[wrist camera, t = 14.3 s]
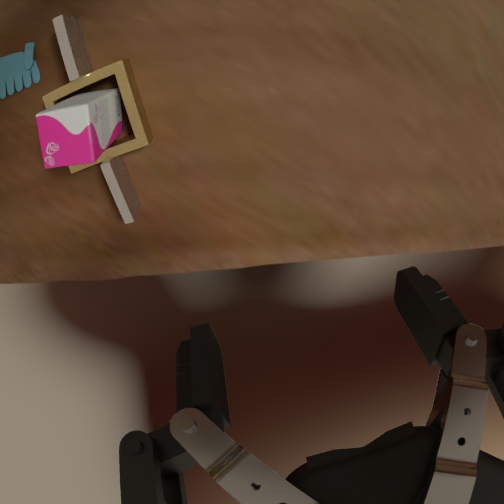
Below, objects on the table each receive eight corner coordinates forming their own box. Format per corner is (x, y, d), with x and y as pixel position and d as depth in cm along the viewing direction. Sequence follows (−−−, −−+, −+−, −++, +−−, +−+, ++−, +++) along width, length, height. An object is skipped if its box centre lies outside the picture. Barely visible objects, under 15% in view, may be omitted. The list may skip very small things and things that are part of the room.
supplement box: (76, 93, 31) (33, 112, 22) (121, 86, 32) (91, 101, 22) (80, 137, 34) (43, 170, 25) (124, 132, 35) (97, 163, 26)
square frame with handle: (38, 38, 25) (18, 39, 21) (113, 1, 25) (101, -5, 21) (103, 214, 41) (93, 234, 37) (172, 192, 41) (169, 210, 37)
